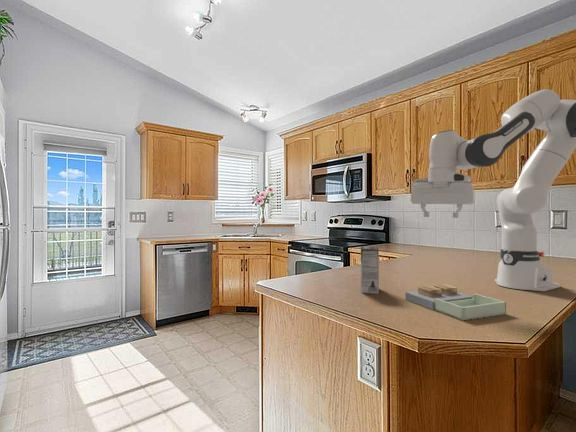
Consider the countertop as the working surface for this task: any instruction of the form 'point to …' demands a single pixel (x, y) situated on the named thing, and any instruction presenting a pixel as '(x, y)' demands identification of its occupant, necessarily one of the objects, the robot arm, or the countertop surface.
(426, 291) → the tile
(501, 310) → the tray
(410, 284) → the countertop surface
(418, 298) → the board
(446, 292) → the tile
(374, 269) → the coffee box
